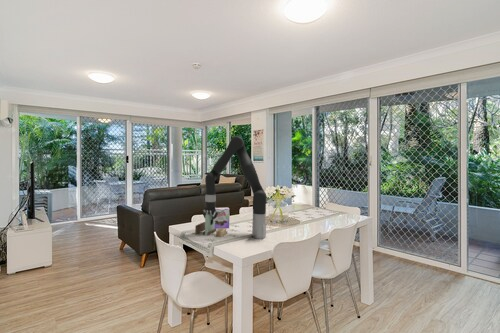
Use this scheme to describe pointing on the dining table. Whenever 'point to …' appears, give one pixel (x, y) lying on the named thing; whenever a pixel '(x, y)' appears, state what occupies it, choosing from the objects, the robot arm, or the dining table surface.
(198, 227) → the walnut rack
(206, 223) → the sage sheet
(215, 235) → the board
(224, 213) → the candy box
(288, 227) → the dining table surface
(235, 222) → the dining table surface
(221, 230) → the offcut top
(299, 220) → the dining table surface
